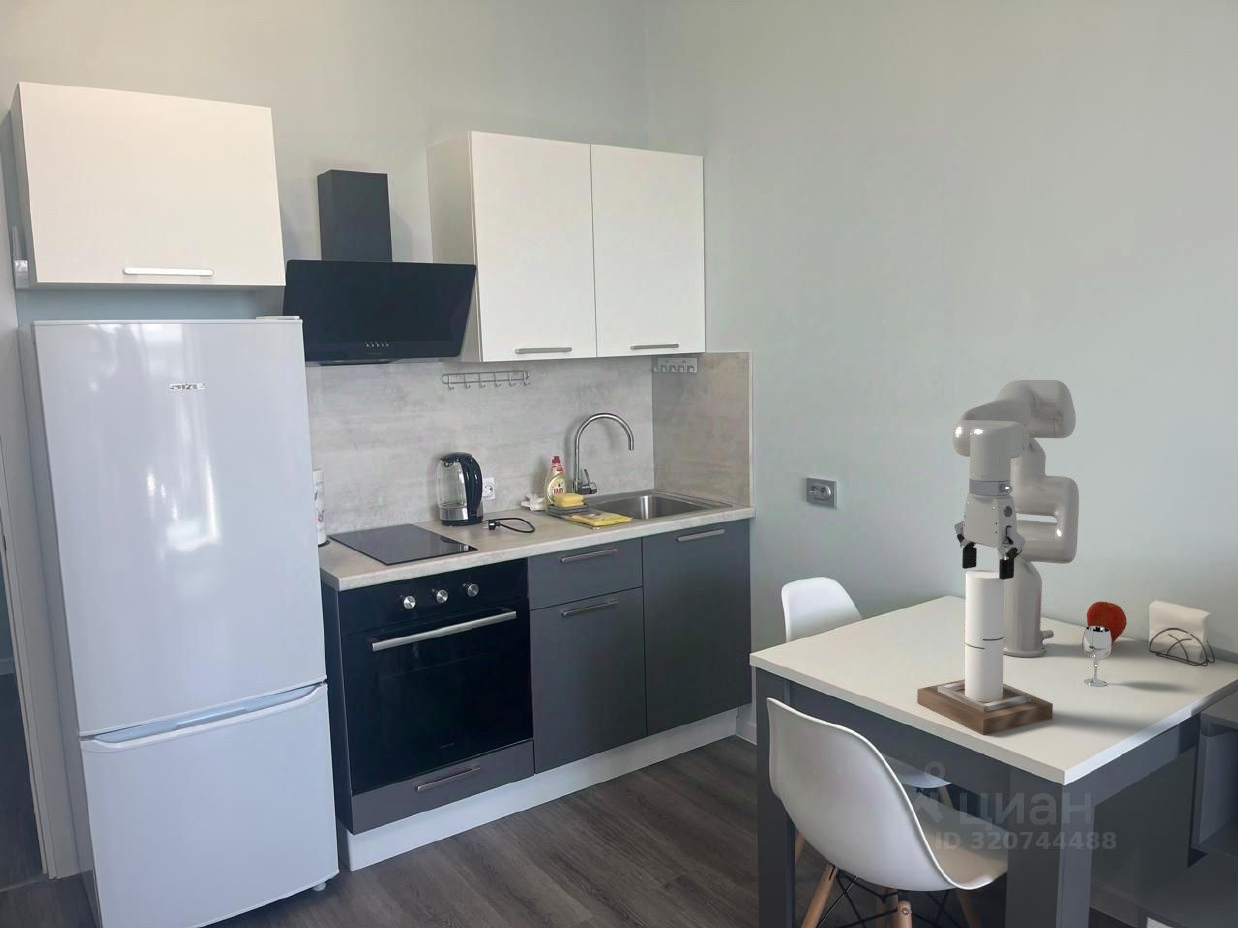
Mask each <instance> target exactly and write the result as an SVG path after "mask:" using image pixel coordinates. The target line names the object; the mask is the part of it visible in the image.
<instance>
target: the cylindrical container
mask: <svg viewBox="0 0 1238 928" xmlns="http://www.w3.org/2000/svg"><path fill="white" fill-rule="evenodd" d="M964 626H965V629H964V631H965V632H964V633H965V634H964V636H965V637H964V642H965V643H964V645H965V646H964V647H965V648H964V650H965V651H964V654H965V655H964V679H965V696H967V697H969V698H971V699H974V700H976V701H981V702H995V701H999V700H1002V699H1003V684H1004V654H1003V647H1004V580H1002V579H1000V578H999V571H994V570H988V569H987V570H984V569H983V570H982V569H981V570H980V569H978V570H975V569H974V570H970V571H967V572H966V573H965V623H964Z"/></svg>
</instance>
